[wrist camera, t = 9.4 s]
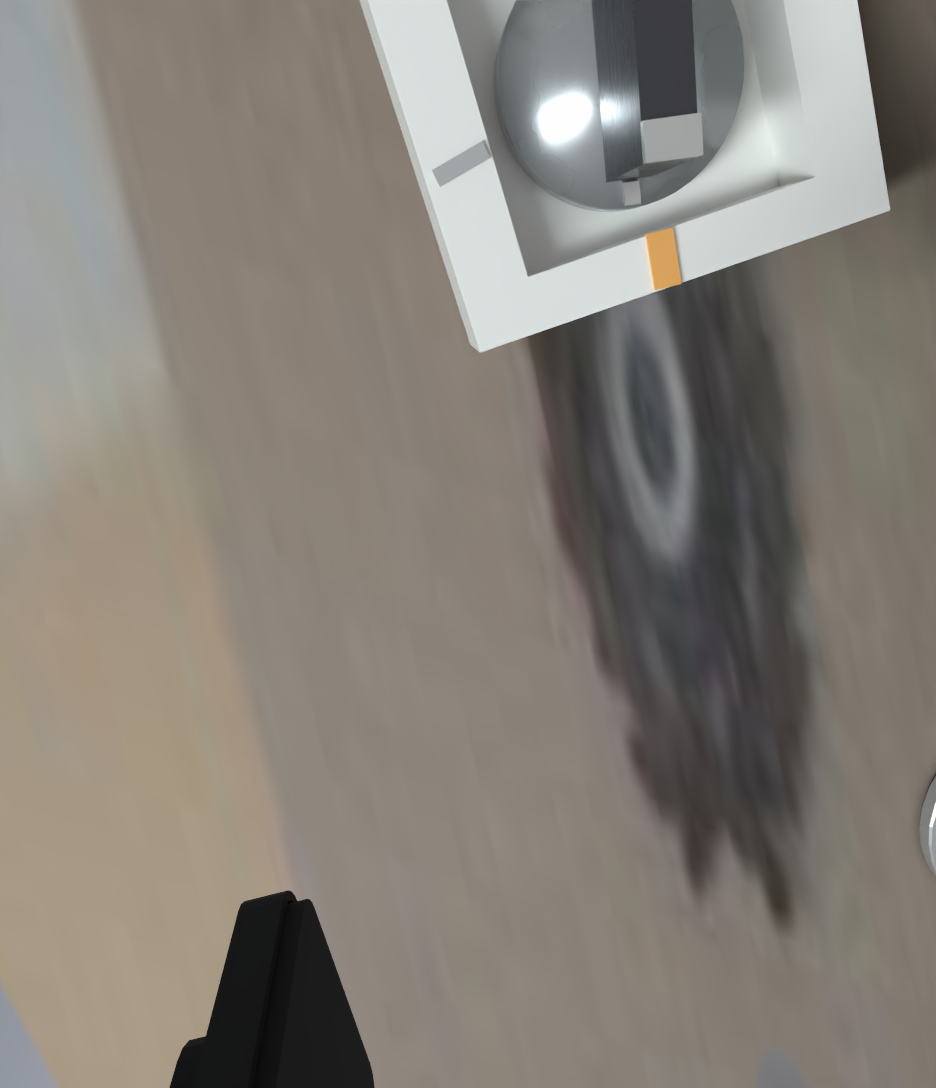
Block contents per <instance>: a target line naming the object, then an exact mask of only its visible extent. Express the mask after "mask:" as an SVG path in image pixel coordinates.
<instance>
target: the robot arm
mask: <svg viewBox="0 0 936 1088" xmlns="http://www.w3.org/2000/svg"><path fill="white" fill-rule="evenodd" d="M919 827H920V841H921V847H922V850H923V853H924V857H925V860H926V862H927V864H928V865H929V867H930V869H931V870H932V872H933V873H934V875H935V877H936V776H935V778H934V780H933V782H932V783H931V785H930V787H929V790H928V792H927V795H926V798H925V801H924V804H923V806H922V812H921V819H920V826H919ZM170 1088H374V1080H373V1074H372V1069H371V1066H370V1062H369V1059H368V1056H367V1054H366V1051H365V1048H364V1045H363V1042H362V1040H361V1037H360V1034H359V1031H358V1028H357V1026H356V1023H355V1020H354V1017H353V1014H352V1012H351V1009H350V1006H349V1003H348V1000H347V998H346V995H345V992H344V989H343V986H342V984H341V981H340V978H339V975H338V972H337V970H336V967H335V964H334V961H333V959H332V956H331V953H330V950H329V947H328V945H327V942H326V939H325V936H324V933H323V931H322V928H321V925H320V922H319V919H318V917H317V914H316V911H315V908H314V906H313V904H312V902H311V901H310V900H309V899H305V900H301V901H297V900H296V897H295V895H294V894H293V893H292V892H291V891H284V892H280V893H276V894H272V895H268V896H264V897H260V898H256V899H252V900H248V901H244V902H243V903H242V904H241V906H240V908H239V911H238V915H237V919H236V923H235V926H234V930H233V934H232V938H231V942H230V946H229V950H228V953H227V957H226V961H225V965H224V969H223V973H222V977H221V981H220V984H219V988H218V992H217V996H216V1000H215V1004H214V1008H213V1011H212V1015H211V1019H210V1023H209V1027H208V1031H207V1035H206V1036H205V1037H201V1038H197V1039H193V1040H189V1041H188V1043H187V1044H186V1045H185V1046H184V1047H183V1049H182V1051H181V1054H180V1056H179V1059H178V1061H177V1064H176V1068H175V1071H174V1075H173V1078H172V1081H171V1085H170Z"/></svg>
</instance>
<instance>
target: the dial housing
mask: <svg viewBox="0 0 936 1088" xmlns="http://www.w3.org/2000/svg"><path fill="white" fill-rule="evenodd" d="M515 1H516V0H360V4H361V7H362V10H363V13H364V16H365V19H366V22H367V25H368V28H369V31H370V35H371V38H372V41H373V44H374V47H375V50H376V53H377V56H378V59H379V62H380V66H381V69H382V72H383V75H384V78H385V81H386V84H387V87H388V90H389V94H390V97H391V100H392V103H393V106H394V109H395V112H396V115H397V118H398V121H399V125H400V128H401V131H402V134H403V137H404V140H405V143H406V146H407V149H408V152H409V156H410V159H411V162H412V165H413V168H414V171H415V174H416V177H417V180H418V184H419V187H420V190H421V193H422V196H423V199H424V202H425V205H426V208H427V211H428V215H429V218H430V221H431V224H432V227H433V230H434V233H435V236H436V239H437V242H438V246H439V249H440V252H441V255H442V258H443V261H444V264H445V267H446V270H447V273H448V277H449V280H450V283H451V286H452V289H453V292H454V295H455V298H456V301H457V305H458V308H459V311H460V314H461V317H462V320H463V323H464V326H465V329H466V332H467V336H468V339H469V342H470V345H472V346H473V347H474V348H475V349H477V350H478V351H479V352H483V351H486V350H489V349H492V348H495V347H497V346H500V345H503V344H506V343H509V342H512V341H515V340H518V339H521V338H523V337H526V336H529V335H532V334H535V333H538V332H541V331H544V330H547V329H549V328H552V327H555V326H558V325H561V324H564V323H567V322H570V321H573V320H575V319H578V318H581V317H584V316H587V315H590V314H593V313H596V312H598V311H601V310H604V309H607V308H610V307H613V306H616V305H619V304H622V303H624V302H627V301H630V300H633V299H636V298H639V297H642V296H645V295H648V294H650V293H653V292H656V291H659V290H662V289H665V288H668V287H671V286H675V285H679V284H682V282H685V281H688V280H691V279H694V278H697V277H699V276H702V275H705V274H708V273H711V272H714V271H717V270H720V269H723V268H725V267H728V266H731V265H734V264H737V263H740V262H743V261H746V260H749V259H751V258H754V257H757V256H760V255H763V254H766V253H769V252H772V251H774V250H777V249H780V248H783V247H786V246H789V245H792V244H795V243H798V242H800V241H803V240H806V239H809V238H812V237H815V236H818V235H821V234H824V233H826V232H829V231H832V230H835V229H838V228H841V227H844V226H847V225H850V224H852V223H855V222H858V221H861V220H864V219H867V218H870V217H873V216H875V215H878V214H881V213H884V212H887V211H890V205H889V199H888V192H887V186H886V180H885V173H884V167H883V161H882V154H881V148H880V142H879V135H878V129H877V123H876V116H875V110H874V104H873V97H872V91H871V84H870V78H869V72H868V65H867V59H866V53H865V46H864V40H863V34H862V27H861V21H860V15H859V8H858V2H857V0H731V1H732V4H733V6H734V9H735V12H736V15H737V18H738V21H739V24H740V29H741V34H742V39H743V48H744V80H743V87H742V94H741V98H740V102H739V106H738V110H737V113H736V116H735V118H734V121H733V124H732V126H731V129H730V131H729V133H728V135H727V136H726V138H725V140H724V142H723V144H722V146H721V147H720V149H719V150H718V152H717V153H716V155H715V156H714V158H713V159H712V160H711V161H710V162H709V164H708V165H707V166H706V167H705V168H704V169H703V171H702V172H700V173H699V174H698V175H697V176H696V177H695V178H694V179H693V180H692V181H691V182H689V183H688V184H687V185H685V186H684V187H682V188H681V189H679V190H678V191H677V192H675V193H673V194H671V195H669V196H667V197H665V198H663V199H661V200H659V201H656V202H653V203H650V204H648V205H645V206H641V207H638V208H634V209H630V210H625V211H616V212H599V211H591V210H586V209H581V208H578V207H575V206H572V205H569V204H567V203H564V202H562V201H561V200H559V199H557V198H555V197H553V196H551V195H550V194H549V193H547V192H546V191H545V190H543V189H542V188H541V187H539V186H538V185H537V184H536V183H535V182H534V181H533V180H532V179H531V178H530V177H529V176H528V175H527V174H526V173H525V171H524V170H523V169H522V167H521V166H520V165H519V164H518V162H517V161H516V159H515V157H514V155H513V154H512V152H511V150H510V149H509V147H508V144H507V142H506V140H505V137H504V135H503V133H502V129H501V126H500V123H499V119H498V115H497V109H496V104H495V94H494V72H495V61H496V56H497V50H498V46H499V42H500V39H501V36H502V32H503V29H504V27H505V24H506V22H507V20H508V17H509V15H510V13H511V10H512V8H513V6H514V4H515Z"/></svg>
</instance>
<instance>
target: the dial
mask: <svg viewBox="0 0 936 1088" xmlns="http://www.w3.org/2000/svg"><path fill="white" fill-rule="evenodd" d="M743 80H744V48H743V39H742V34H741V29H740V24H739V21H738V18H737V15H736V12H735V9H734V6H733V4H732V1H731V0H516V1H515V4H514V6H513V8H512V10H511V13H510V15H509V17H508V20H507V22H506V24H505V27H504V29H503V32H502V36H501V39H500V42H499V46H498V50H497V56H496V61H495V72H494V94H495V104H496V109H497V115H498V119H499V123H500V126H501V129H502V133H503V135H504V137H505V140H506V142H507V144H508V147H509V149H510V150H511V152H512V154H513V155H514V157H515V159H516V161H517V162H518V164H519V165H520V166H521V167H522V169H523V170H524V171H525V173H526V174H527V175H528V176H529V177H530V178H531V179H532V180H533V181H534V182H535V183H536V184H537V185H538V186H539V187H541V188H542V189H543V190H545V191H546V192H547V193H549V194H550V195H551V196H553V197H555V198H557V199H559V200H561V201H562V202H564V203H567V204H569V205H572V206H575V207H578V208H581V209H586V210H591V211H599V212H616V211H625V210H630V209H634V208H638V207H641V206H645V205H648V204H650V203H653V202H656V201H659V200H661V199H663V198H665V197H667V196H669V195H671V194H673V193H675V192H677V191H678V190H679V189H681V188H682V187H684V186H685V185H687V184H688V183H689V182H691V181H692V180H693V179H694V178H695V177H696V176H697V175H698V174H699V173H700V172H702V171H703V169H704V168H705V167H706V166H707V165H708V164H709V162H710V161H711V160H712V159H713V158H714V156H715V155H716V153H717V152H718V150H719V149H720V147H721V146H722V144H723V142H724V140H725V138H726V136H727V135H728V133H729V131H730V129H731V126H732V124H733V121H734V118H735V116H736V113H737V110H738V106H739V102H740V98H741V94H742V87H743Z"/></svg>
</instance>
